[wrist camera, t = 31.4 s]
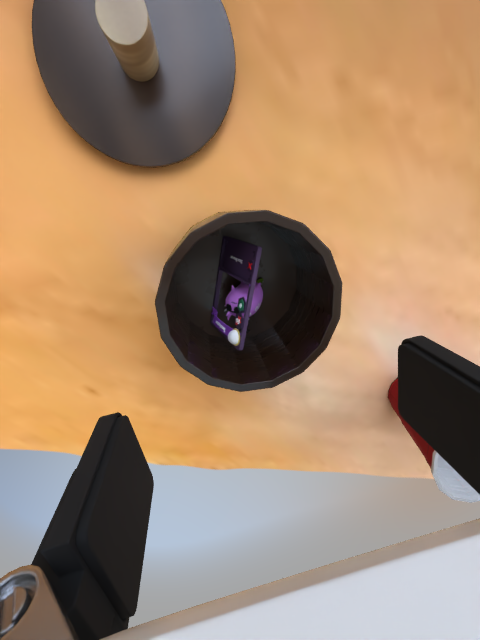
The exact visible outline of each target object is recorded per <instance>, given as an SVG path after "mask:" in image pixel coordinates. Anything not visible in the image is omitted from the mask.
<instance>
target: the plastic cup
mask: <svg viewBox="0 0 480 640" xmlns="http://www.w3.org/2000/svg"><path fill="white" fill-rule="evenodd" d="M388 398H389V401H390V403H391V405H392V408H393V409H394V410H395V412H396V413H397V415H398V416H399V418H400V419H401V421H402V424H403V425H404V427H405V428H406V430H407V431H408V433H409V434H410V436H411V437H412V439H413V440H414V442H415V443H416V445H417V446H418V448H419V449H420V451H421V452H422V454H423V455H424V457H425V458H426V461H427V463H428V464H429V466H430V468H431V472H432V475H433V477H434V479H435V482H436V484H437V486H438V488H439V490H440V491H442V492H443V493H444V494H446V495H447V496H449V497H450V498H451V499H453V500H459V501H465V502H470V503H471V502H477V501H480V494H479V493H478V492H477V491H475V490H474V489H473V488H472V487H471V486H470V485H469V484H468V483H467V482H466V481H465V480H464V479H463V478H462V477H461V476H460V475H459V474H458V473H457V472H456V471H455V470H454V469H453V468H452V467H451V466H450V465H449V464H448V463H447V462H446V461H445V460H444V459H443V458H442V457H441V456H440V455H439V454H438V453H437V452H436V451H435V450H434V449H433V448H432V447H431V446H430V445H429V444H428V443H427V442H426V441H425V440H424V439H423V438H422V437H421V436H420V435H419V434H418V433H417V432H416V431H415V430H414V429H413V428H412V427H411V426H410V425H409V424H408V423H407V422H406V421H405V420H404V419H403V418H402V417H401V415H400V413H399V411H398V378H397V379H396V380H395V381H394V382H393V383H392V385H391V387H390V389H389V393H388Z"/></svg>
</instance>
